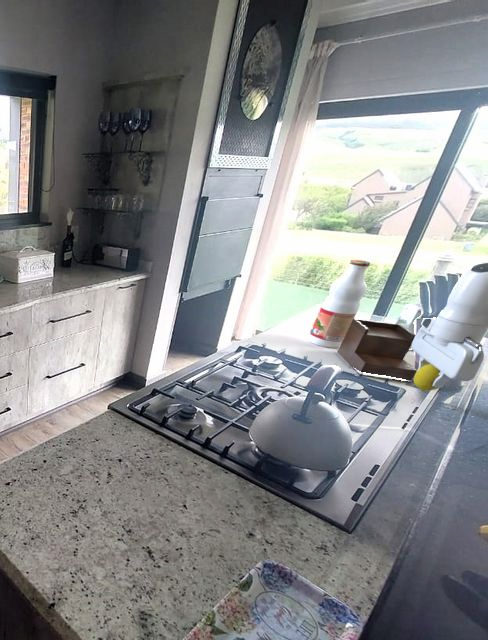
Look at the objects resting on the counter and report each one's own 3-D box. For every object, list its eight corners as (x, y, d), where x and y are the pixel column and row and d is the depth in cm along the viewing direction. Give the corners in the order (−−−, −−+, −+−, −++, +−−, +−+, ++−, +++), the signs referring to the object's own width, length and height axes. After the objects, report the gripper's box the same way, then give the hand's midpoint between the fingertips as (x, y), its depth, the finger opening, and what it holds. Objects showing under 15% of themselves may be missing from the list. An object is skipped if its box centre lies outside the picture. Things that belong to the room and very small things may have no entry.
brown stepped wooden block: (381, 357, 130) (400, 324, 125) (409, 382, 115) (431, 345, 110) (337, 351, 134) (353, 318, 128) (358, 374, 119) (377, 338, 113)
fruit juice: (335, 350, 134) (376, 266, 121) (303, 341, 141) (338, 260, 127) (343, 344, 140) (383, 262, 126) (311, 335, 146) (346, 256, 133)
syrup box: (415, 351, 136) (439, 309, 129) (395, 349, 136) (418, 308, 130) (403, 344, 141) (425, 304, 134) (384, 342, 141) (405, 303, 135)
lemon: (415, 384, 110) (430, 357, 106) (441, 394, 105) (458, 366, 101) (403, 387, 108) (418, 360, 104) (428, 397, 103) (445, 370, 100)
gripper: (504, 348, 89) (468, 402, 95) (450, 319, 106) (423, 366, 112) (467, 344, 91) (434, 397, 97) (419, 316, 108) (394, 362, 114)
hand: (428, 380), depth 105 cm, fingers closed on lemon, 5 cm apart
